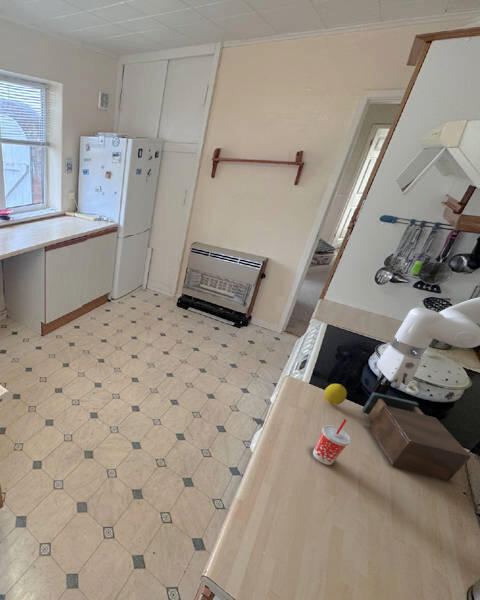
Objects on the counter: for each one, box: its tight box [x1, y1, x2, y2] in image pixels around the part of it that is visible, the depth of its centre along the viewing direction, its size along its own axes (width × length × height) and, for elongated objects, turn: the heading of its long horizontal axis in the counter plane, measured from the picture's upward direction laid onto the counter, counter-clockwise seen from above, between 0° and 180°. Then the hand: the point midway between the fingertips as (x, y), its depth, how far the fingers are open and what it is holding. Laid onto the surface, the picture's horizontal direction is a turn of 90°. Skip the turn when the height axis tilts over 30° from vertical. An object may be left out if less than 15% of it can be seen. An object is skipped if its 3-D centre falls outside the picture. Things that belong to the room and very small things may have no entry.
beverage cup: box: [312, 419, 352, 466], centre depth 85 cm, size 6×6×14 cm
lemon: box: [323, 383, 348, 405], centre depth 106 cm, size 6×6×8 cm
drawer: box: [361, 391, 425, 423], centre depth 97 cm, size 17×11×8 cm
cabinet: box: [368, 405, 472, 482], centre depth 89 cm, size 14×13×10 cm
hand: (378, 392), depth 107 cm, fingers closed
